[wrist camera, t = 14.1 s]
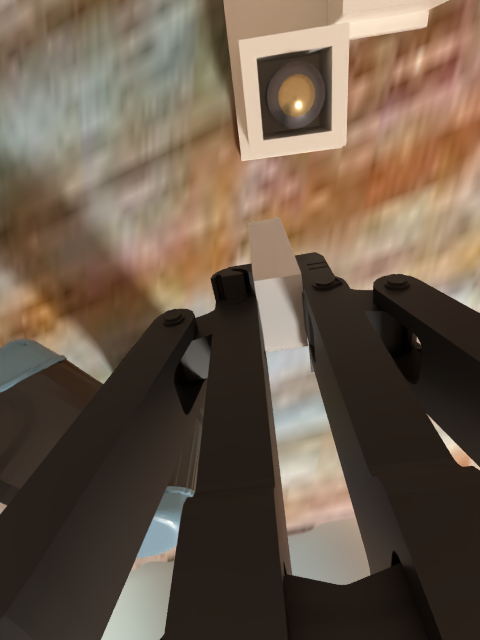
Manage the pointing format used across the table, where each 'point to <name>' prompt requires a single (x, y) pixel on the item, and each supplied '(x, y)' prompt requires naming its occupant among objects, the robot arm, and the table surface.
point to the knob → (295, 94)
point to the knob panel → (309, 46)
